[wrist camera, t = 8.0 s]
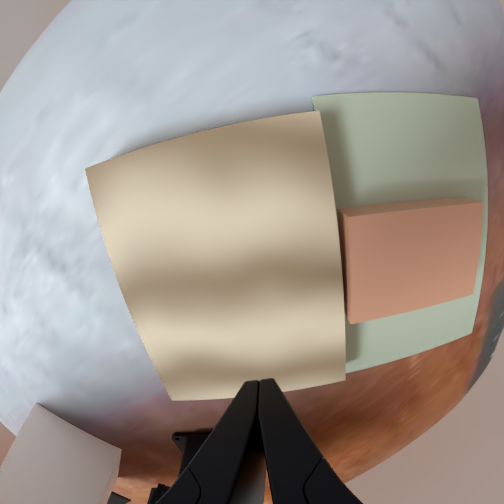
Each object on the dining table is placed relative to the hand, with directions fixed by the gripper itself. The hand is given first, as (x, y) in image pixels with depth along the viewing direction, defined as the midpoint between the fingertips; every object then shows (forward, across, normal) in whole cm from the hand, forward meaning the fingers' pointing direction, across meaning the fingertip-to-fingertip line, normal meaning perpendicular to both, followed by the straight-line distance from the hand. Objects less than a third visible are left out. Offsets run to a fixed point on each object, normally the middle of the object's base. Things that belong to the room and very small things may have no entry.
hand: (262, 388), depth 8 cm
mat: (+9, -10, 0) cm, 14 cm away
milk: (+10, +28, +21) cm, 36 cm away
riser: (+9, +2, 0) cm, 9 cm away
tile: (+9, -9, 0) cm, 13 cm away
